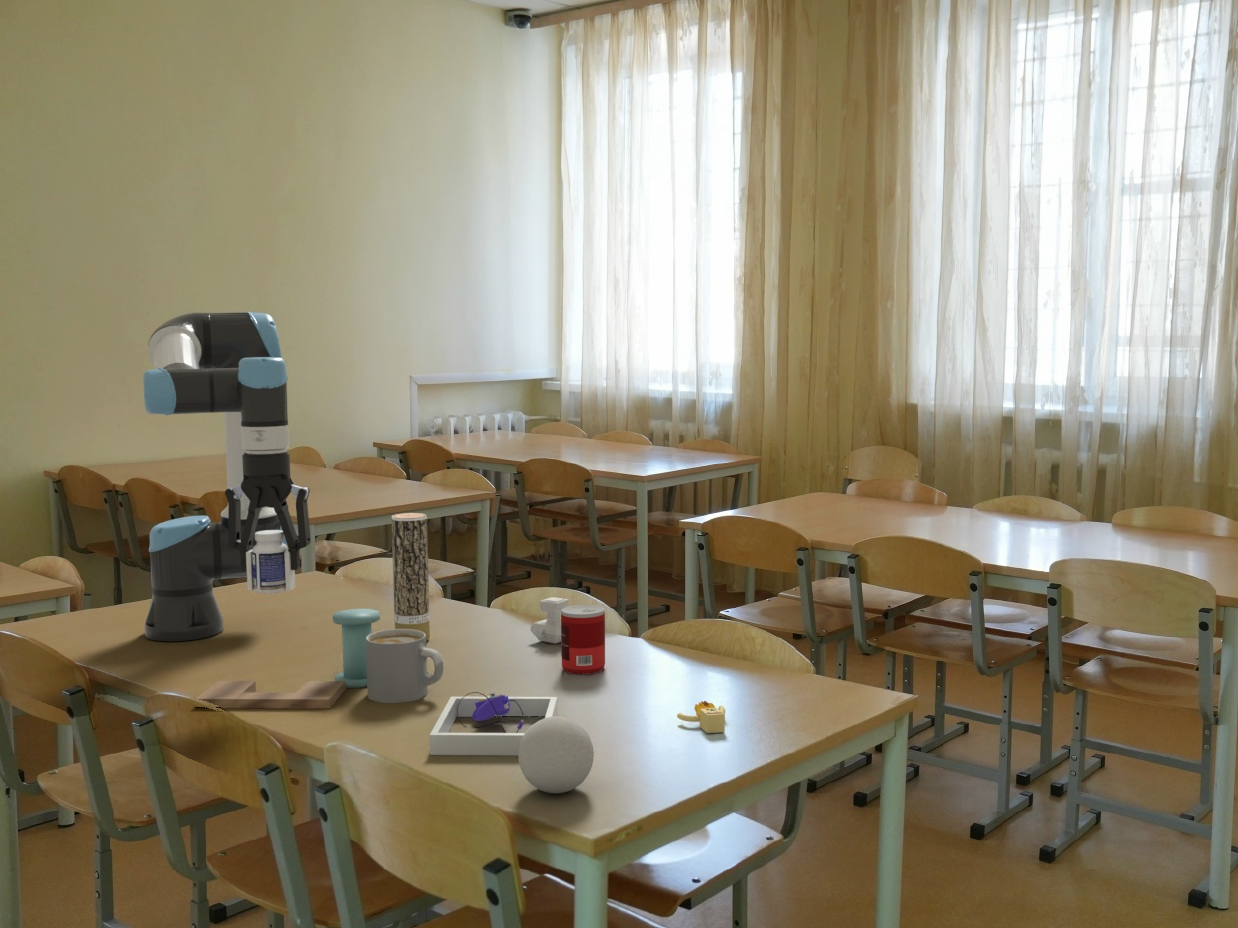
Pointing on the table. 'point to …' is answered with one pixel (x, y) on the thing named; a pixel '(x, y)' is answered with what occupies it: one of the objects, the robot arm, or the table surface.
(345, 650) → the bobbin post
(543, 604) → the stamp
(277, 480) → the robot arm
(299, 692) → the notch board
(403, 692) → the coffee mug
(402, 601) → the paper tube
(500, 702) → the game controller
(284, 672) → the table surface
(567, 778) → the ball
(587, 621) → the canned food
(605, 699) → the table surface
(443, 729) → the controller tray
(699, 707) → the character toy
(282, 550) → the pill bottle
